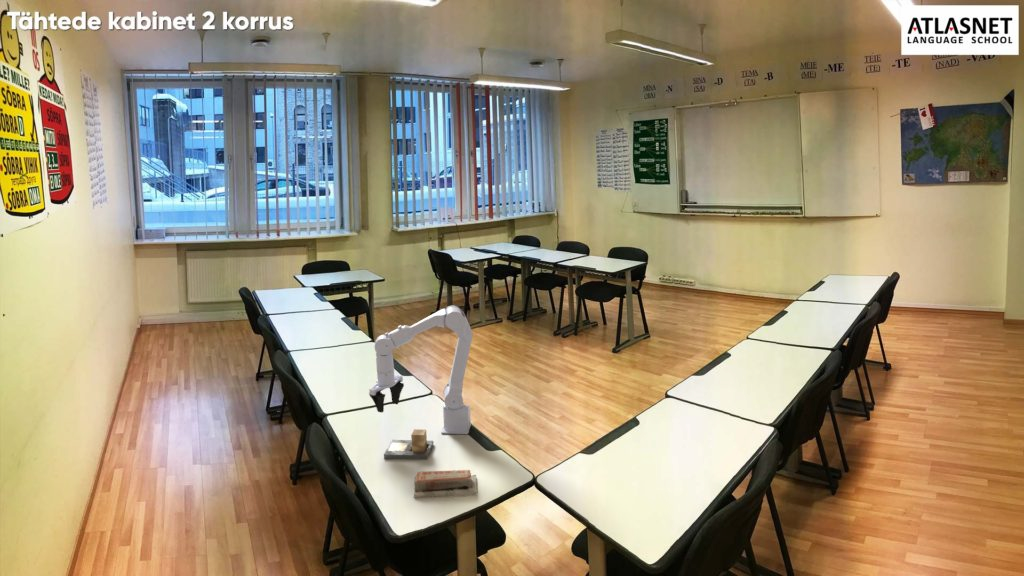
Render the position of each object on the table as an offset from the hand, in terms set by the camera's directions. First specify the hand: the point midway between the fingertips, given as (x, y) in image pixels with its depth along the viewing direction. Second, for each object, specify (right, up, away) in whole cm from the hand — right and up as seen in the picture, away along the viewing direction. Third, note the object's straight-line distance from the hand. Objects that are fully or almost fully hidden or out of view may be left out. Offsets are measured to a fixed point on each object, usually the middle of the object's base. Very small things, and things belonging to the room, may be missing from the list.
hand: (388, 407), depth 205 cm
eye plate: (+9, -12, -10) cm, 18 cm away
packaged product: (+23, -18, -31) cm, 43 cm away
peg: (+13, -12, -10) cm, 20 cm away
